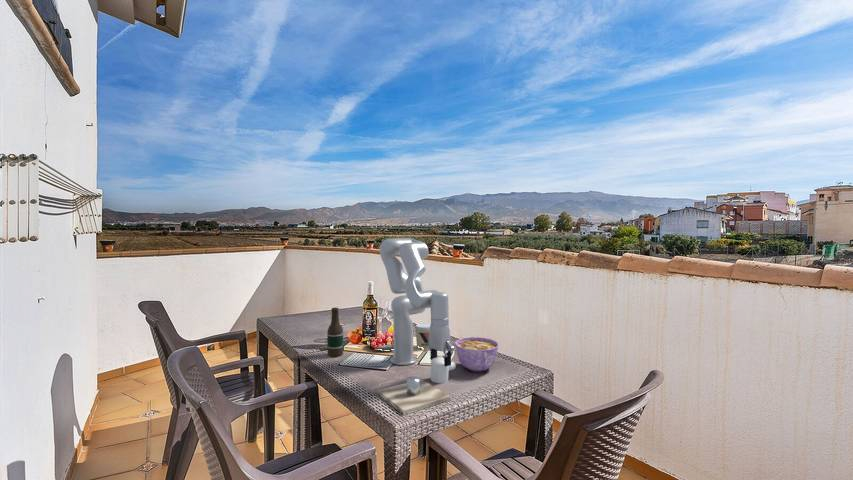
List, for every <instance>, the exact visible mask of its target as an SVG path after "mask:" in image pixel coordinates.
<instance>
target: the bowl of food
mask: <svg viewBox="0 0 853 480" xmlns="http://www.w3.org/2000/svg"><path fill="white" fill-rule="evenodd" d="M454 343H455V348H456V355H457V357H458V361H459V363H460V364H461V366H463V367H464V368H466V369H468V370H470V371H471V372H477V373H478V372H483V371H486V370H488V369H489V368H492V367H493V366H494V364H495V362H496V359H497V357H498V356H497V355H498V351H499V347H500V344H499V342H498V341H496V340H494V339H491V338H486V337H479V336H477V337H475V336H470V337H462V338H459V339H457V340H456V341H455V342H454Z"/></svg>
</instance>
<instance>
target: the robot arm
mask: <svg viewBox="0 0 853 480" xmlns="http://www.w3.org/2000/svg"><path fill="white" fill-rule="evenodd" d="M379 247H380V248H379V254H380V258H381V261H382V264H383V265H384V268H385V270H386V275H387V279H388V284H389V285H388V286H389V288H390V291H391V292H392V293H393V294H396V295H399V296H396V297H394V298H393V300H392V301H391V305H390V306H391V307H390V308H391V311H392V312H391V313H392V320H393V339H394V350H392V351H391V352H392V353H393V356H392V357H390V360H389V361H390V363H391V364H393V365H397V366H409V365H413V364H415V363H416V362H417V356H415V355H414V323H413V321H412V319H411V318H410V316H413V315H417V314H422V313H424V312H425V311H426V309H430V324H431V325H430V330H429V338H428V343H429V347H430V349H429V351H430V356H429V357H430V361H431V360H432V359H433V358H438V352H440V353H441V352H443V354H444V356H443V358H444V366H445V367H446V366H450V365H451V362H452V356H453V353H454V350H455V347H454V345H453V344H452V343H451V342H452V341H451V340H452V339H451V330H450V320H449V318H450V317H449V315H450V314H449V313H450V312H449V295H448V294H447V292H443V291H438V290H435V289H431V290H424V288H423V283H422V281H421V279H420V277H421V276H422V275H424V274H425V273H426V266H425V264H424V261H423V260H425V259H427V258H428V256H429V248H428V245H427V244H426V243H425V242H423V241H422V240H421V241H420V240H417V239H414V238H412V237H411V238H410V237H399V238H398V237H397V238H394V237H393V238H386V239H384V240H383V241H382V242H381V244H380V246H379ZM396 256H400V259H401V261H402V262H401V261H400V259H399V258H397V257H396ZM402 263H403V264H402ZM404 269H405V270H404ZM405 271H406V273H405ZM401 294H405V295H401Z"/></svg>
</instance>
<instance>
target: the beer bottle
mask: <svg viewBox="0 0 853 480" xmlns="http://www.w3.org/2000/svg"><path fill="white" fill-rule="evenodd" d="M330 310H331V318H330V319H331V320H330V325H329V326H328V328H327V331H326V332H327V338H326V340H327V344H326V345H327V346H326V347H327V356H328V355H329V356H330V357H329V356H328V357H329V358H338V357H339V356H340V357H342V356H343V355H344V329H343V326H342V325H341V323H340V316H339V314H340V313H339V310H340V309H339V307H332V308H331V309H330Z"/></svg>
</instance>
